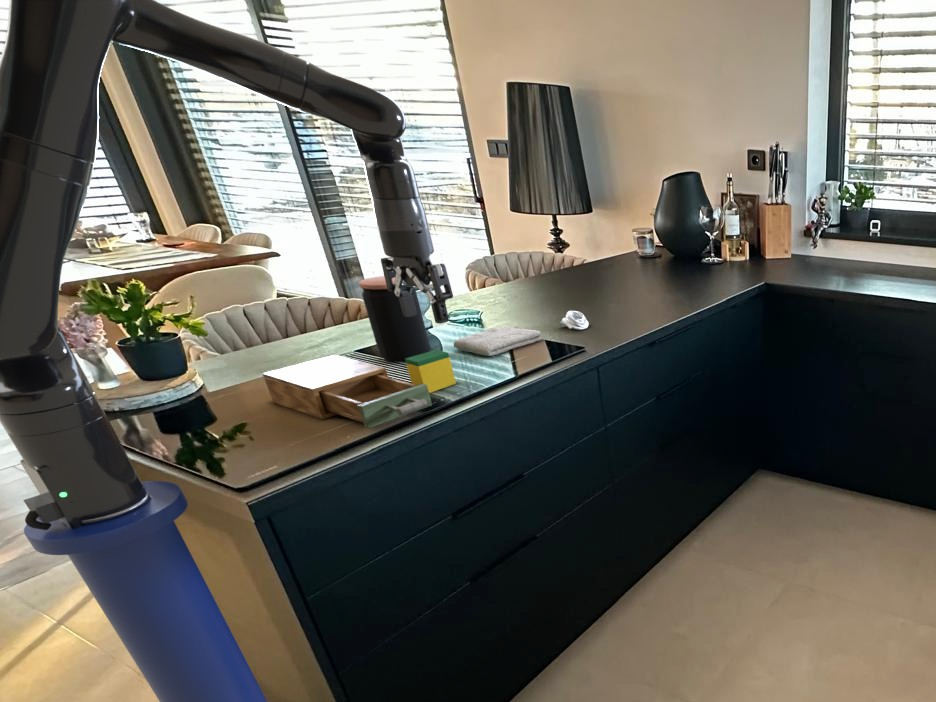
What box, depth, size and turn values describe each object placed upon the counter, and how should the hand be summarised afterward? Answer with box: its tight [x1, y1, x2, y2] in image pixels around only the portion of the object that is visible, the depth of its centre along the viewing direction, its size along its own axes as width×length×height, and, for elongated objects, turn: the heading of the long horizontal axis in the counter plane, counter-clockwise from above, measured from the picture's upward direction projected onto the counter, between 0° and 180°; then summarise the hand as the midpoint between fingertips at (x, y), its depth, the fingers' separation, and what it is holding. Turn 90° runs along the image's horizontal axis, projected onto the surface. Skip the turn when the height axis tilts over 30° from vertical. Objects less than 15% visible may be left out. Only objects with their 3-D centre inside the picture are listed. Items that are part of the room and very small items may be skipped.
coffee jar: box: [358, 275, 432, 363], centre depth 145 cm, size 11×11×18 cm
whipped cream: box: [559, 310, 589, 330], centre depth 174 cm, size 8×7×5 cm
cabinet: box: [262, 354, 389, 420], centre depth 124 cm, size 17×14×6 cm
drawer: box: [319, 374, 433, 429], centre depth 117 cm, size 20×12×4 cm, turn 63°
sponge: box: [405, 349, 457, 394], centre depth 130 cm, size 7×4×7 cm, turn 153°
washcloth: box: [453, 325, 543, 357], centre depth 158 cm, size 12×18×3 cm, turn 155°
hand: (426, 319), depth 114 cm, fingers open, 8 cm apart
